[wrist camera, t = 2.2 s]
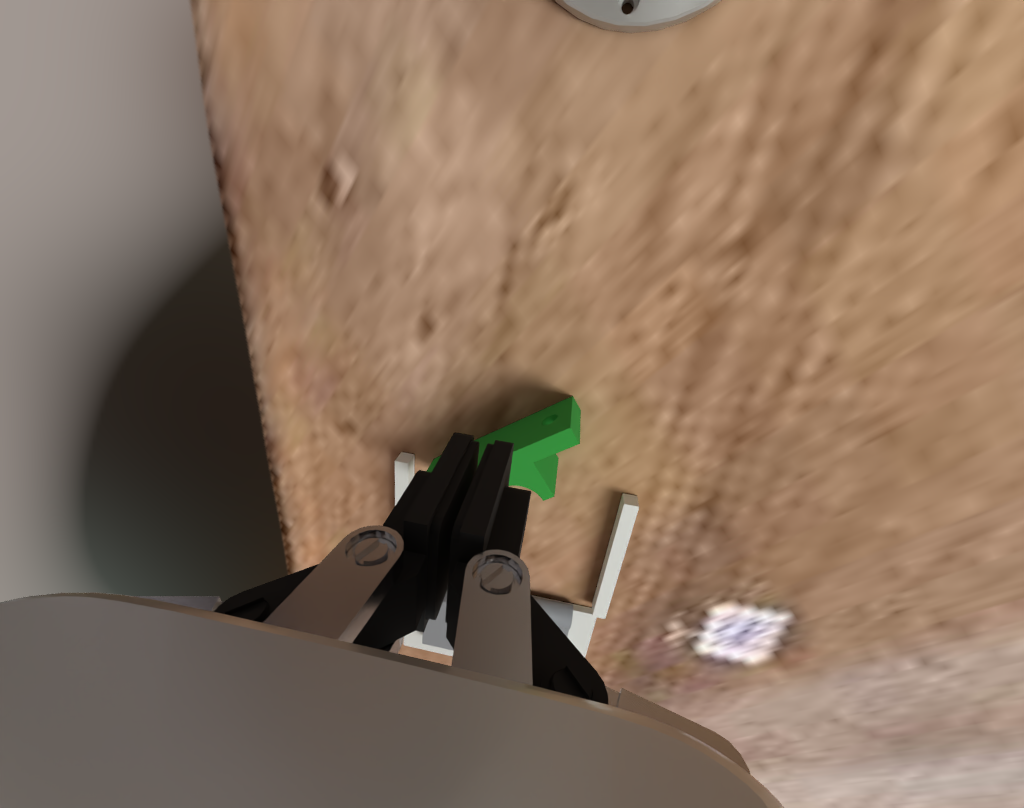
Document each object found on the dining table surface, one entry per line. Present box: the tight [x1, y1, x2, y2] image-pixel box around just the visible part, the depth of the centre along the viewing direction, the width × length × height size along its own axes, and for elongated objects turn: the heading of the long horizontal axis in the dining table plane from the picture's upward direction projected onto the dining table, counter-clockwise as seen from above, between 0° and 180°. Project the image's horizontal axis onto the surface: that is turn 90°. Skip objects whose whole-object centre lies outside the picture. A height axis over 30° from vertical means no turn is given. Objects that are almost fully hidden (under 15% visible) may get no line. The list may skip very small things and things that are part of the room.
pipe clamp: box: [427, 396, 581, 501], centre depth 28 cm, size 11×4×5 cm, turn 120°
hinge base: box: [395, 452, 639, 657], centre depth 34 cm, size 20×17×2 cm
